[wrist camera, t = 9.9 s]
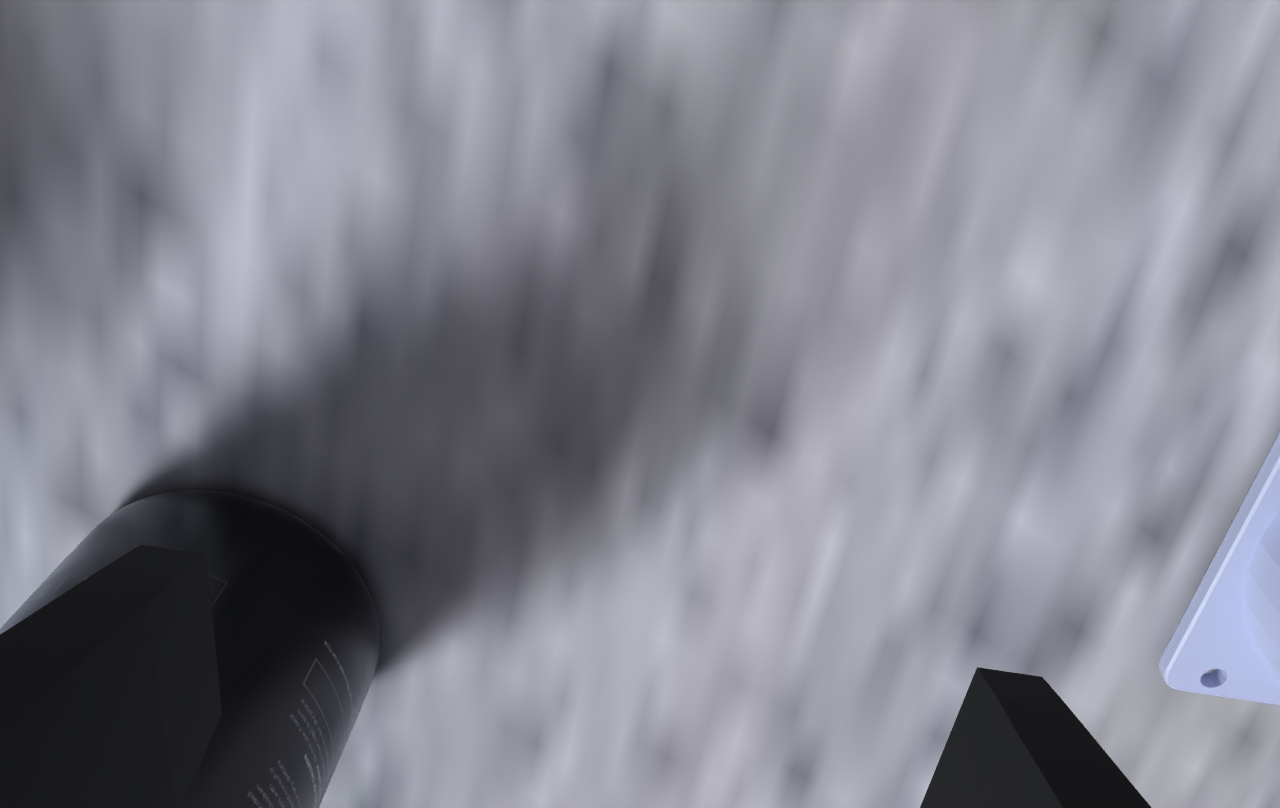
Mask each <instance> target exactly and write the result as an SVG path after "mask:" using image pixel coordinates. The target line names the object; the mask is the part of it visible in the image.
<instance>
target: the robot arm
mask: <svg viewBox="0 0 1280 808" xmlns="http://www.w3.org/2000/svg"><path fill="white" fill-rule="evenodd" d="M1159 669H1160V673H1161V674H1162V676H1163V678H1164V680H1165V682H1166V683H1167V684H1168V685H1169V686H1170V687H1171V688H1174V689H1177V690H1180V691H1187V692H1194V693H1201V694H1208V695H1214V696H1221V697H1228V698H1235V699H1242V700H1248V701H1255V702H1262V703H1269V704H1276V705H1280V433H1279V435H1278V437H1277V439H1276V441H1275V442H1274V444H1273V446H1272V448H1271V450H1270V452H1269V454H1268V456H1267V458H1266V460H1265V461H1264V463H1263V465H1262V467H1261V469H1260V471H1259V473H1258V475H1257V477H1256V479H1255V480H1254V482H1253V484H1252V486H1251V488H1250V490H1249V492H1248V494H1247V496H1246V498H1245V499H1244V501H1243V503H1242V505H1241V507H1240V509H1239V511H1238V513H1237V515H1236V517H1235V519H1234V520H1233V522H1232V524H1231V526H1230V528H1229V530H1228V532H1227V534H1226V536H1225V538H1224V539H1223V541H1222V543H1221V545H1220V547H1219V549H1218V551H1217V553H1216V555H1215V557H1214V558H1213V560H1212V562H1211V564H1210V566H1209V568H1208V570H1207V572H1206V574H1205V576H1204V577H1203V579H1202V581H1201V583H1200V585H1199V587H1198V589H1197V591H1196V593H1195V595H1194V596H1193V598H1192V600H1191V602H1190V604H1189V606H1188V608H1187V610H1186V612H1185V614H1184V615H1183V617H1182V619H1181V621H1180V623H1179V625H1178V627H1177V629H1176V631H1175V633H1174V634H1173V636H1172V638H1171V640H1170V642H1169V644H1168V646H1167V648H1166V650H1165V652H1164V653H1163V655H1162V657H1161V659H1160V663H1159ZM1211 669H1215V670H1214V671H1212V672H1210V673H1208V674H1204V673H1205V672H1207V671H1209V670H1211ZM221 714H222V709H221V699H220V689H219V679H218V669H217V659H216V648H215V638H214V628H213V618H212V608H211V598H210V587H209V577H208V567H207V557H206V554H201V553H194V552H187V551H180V550H174V549H167V548H160V547H153V546H146V545H140V546H138V547H136V548H135V549H133V550H131V551H130V552H128V553H126V554H125V555H123V556H121V557H120V558H118V559H116V560H115V561H113V562H112V563H110V564H109V565H107V566H105V567H104V568H102V569H101V570H99V571H98V572H96V573H94V574H93V575H91V576H90V577H88V578H87V579H85V580H84V581H82V582H81V583H79V584H77V585H76V586H74V587H73V588H71V589H70V590H68V591H67V592H65V593H64V594H62V595H60V596H59V597H57V598H56V599H54V600H53V601H51V602H50V603H48V604H47V605H45V606H44V607H42V608H41V609H39V610H37V611H36V612H34V613H33V614H31V615H30V616H28V617H27V618H25V619H24V620H22V621H20V622H19V623H17V624H16V625H14V626H13V627H11V628H10V629H8V630H7V631H5V632H3V633H2V634H0V808H181V807H182V805H183V803H184V801H185V798H186V796H187V794H188V792H189V789H190V787H191V785H192V783H193V781H194V778H195V776H196V774H197V772H198V769H199V767H200V765H201V762H202V760H203V757H204V755H205V753H206V750H207V748H208V745H209V743H210V741H211V738H212V736H213V733H214V731H215V729H216V726H217V724H218V722H219V719H220V717H221ZM920 808H1151V807H1150V805H1149V804H1148V803H1147V802H1146V801H1145V799H1144V798H1143V797H1142V796H1141V795H1140V793H1139V792H1138V791H1137V790H1136V789H1135V787H1134V786H1133V785H1132V784H1131V783H1130V781H1129V780H1128V779H1127V778H1126V777H1125V775H1124V774H1123V773H1122V772H1121V770H1120V769H1119V768H1118V767H1117V766H1116V764H1115V763H1114V762H1113V761H1112V760H1111V758H1110V757H1109V756H1108V755H1107V754H1106V752H1105V751H1104V750H1103V749H1102V747H1101V746H1100V745H1099V744H1098V743H1097V741H1096V740H1095V739H1094V738H1093V737H1092V735H1091V734H1090V733H1089V732H1088V730H1087V729H1086V728H1085V727H1084V726H1083V724H1082V723H1081V722H1080V721H1079V720H1078V718H1077V717H1076V716H1075V715H1074V714H1073V712H1072V711H1071V710H1070V709H1069V708H1068V706H1067V705H1066V704H1065V703H1064V702H1063V700H1062V699H1061V698H1060V697H1059V696H1058V695H1057V693H1056V692H1055V691H1054V690H1053V689H1052V688H1051V687H1050V685H1049V684H1048V683H1047V682H1046V681H1045V680H1044V679H1043V678H1042V677H1039V676H1032V675H1025V674H1018V673H1011V672H1005V671H998V670H991V669H984V668H977V669H976V672H975V674H974V677H973V679H972V682H971V684H970V686H969V689H968V691H967V694H966V696H965V699H964V701H963V704H962V706H961V709H960V711H959V713H958V716H957V718H956V721H955V723H954V726H953V728H952V731H951V733H950V736H949V738H948V740H947V743H946V745H945V748H944V750H943V753H942V755H941V758H940V760H939V763H938V765H937V767H936V770H935V772H934V775H933V777H932V780H931V782H930V785H929V787H928V790H927V792H926V795H925V797H924V799H923V802H922V804H921V807H920Z"/></svg>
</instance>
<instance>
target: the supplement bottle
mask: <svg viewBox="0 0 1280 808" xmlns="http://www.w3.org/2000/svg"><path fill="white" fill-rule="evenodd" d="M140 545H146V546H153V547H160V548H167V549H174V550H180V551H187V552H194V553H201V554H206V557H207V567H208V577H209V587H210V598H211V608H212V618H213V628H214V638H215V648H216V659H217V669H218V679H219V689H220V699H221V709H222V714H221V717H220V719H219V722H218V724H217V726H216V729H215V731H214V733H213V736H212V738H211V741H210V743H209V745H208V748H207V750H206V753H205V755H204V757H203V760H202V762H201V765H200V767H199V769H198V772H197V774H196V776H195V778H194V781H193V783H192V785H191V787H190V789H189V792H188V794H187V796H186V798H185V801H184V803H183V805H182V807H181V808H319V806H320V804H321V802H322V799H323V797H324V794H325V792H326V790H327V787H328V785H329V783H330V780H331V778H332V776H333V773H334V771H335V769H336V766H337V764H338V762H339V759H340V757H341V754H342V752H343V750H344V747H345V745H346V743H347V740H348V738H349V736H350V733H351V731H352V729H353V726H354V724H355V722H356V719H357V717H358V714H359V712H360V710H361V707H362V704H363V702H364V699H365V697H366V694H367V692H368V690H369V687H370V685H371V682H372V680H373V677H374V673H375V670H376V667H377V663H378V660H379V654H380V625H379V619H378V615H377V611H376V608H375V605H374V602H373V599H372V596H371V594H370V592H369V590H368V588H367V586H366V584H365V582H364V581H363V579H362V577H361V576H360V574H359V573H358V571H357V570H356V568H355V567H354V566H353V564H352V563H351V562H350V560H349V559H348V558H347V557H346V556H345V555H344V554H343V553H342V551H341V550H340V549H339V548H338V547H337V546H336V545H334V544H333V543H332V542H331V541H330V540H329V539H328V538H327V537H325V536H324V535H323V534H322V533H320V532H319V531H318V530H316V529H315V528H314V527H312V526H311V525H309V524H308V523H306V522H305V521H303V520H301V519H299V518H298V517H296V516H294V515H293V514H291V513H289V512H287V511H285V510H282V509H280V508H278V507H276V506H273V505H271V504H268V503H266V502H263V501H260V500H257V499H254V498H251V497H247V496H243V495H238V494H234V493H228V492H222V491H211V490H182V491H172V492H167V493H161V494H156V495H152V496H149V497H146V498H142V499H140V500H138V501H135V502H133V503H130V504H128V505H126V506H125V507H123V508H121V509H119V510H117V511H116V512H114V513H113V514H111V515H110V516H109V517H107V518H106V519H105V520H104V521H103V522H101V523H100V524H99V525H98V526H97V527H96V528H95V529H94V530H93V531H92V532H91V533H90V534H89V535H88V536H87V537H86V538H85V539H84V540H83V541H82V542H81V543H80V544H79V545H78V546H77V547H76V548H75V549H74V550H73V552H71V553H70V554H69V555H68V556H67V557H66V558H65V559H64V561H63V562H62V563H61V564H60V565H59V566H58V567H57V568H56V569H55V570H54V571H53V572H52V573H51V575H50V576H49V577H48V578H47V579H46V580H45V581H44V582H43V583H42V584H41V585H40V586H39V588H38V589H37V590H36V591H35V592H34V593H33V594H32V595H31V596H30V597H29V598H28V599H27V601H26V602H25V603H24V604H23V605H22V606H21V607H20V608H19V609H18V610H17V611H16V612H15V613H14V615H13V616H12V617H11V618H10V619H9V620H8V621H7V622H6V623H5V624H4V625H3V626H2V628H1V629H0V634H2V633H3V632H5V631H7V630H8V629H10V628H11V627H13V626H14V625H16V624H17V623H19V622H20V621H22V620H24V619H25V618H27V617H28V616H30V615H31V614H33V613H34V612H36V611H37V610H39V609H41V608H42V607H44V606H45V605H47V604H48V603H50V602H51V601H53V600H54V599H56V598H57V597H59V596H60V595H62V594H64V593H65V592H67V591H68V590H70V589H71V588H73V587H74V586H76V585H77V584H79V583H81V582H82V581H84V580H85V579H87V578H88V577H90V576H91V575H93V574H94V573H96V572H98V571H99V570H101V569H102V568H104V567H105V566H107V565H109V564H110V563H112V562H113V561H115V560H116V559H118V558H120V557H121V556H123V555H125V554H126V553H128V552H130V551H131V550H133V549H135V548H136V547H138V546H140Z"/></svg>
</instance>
